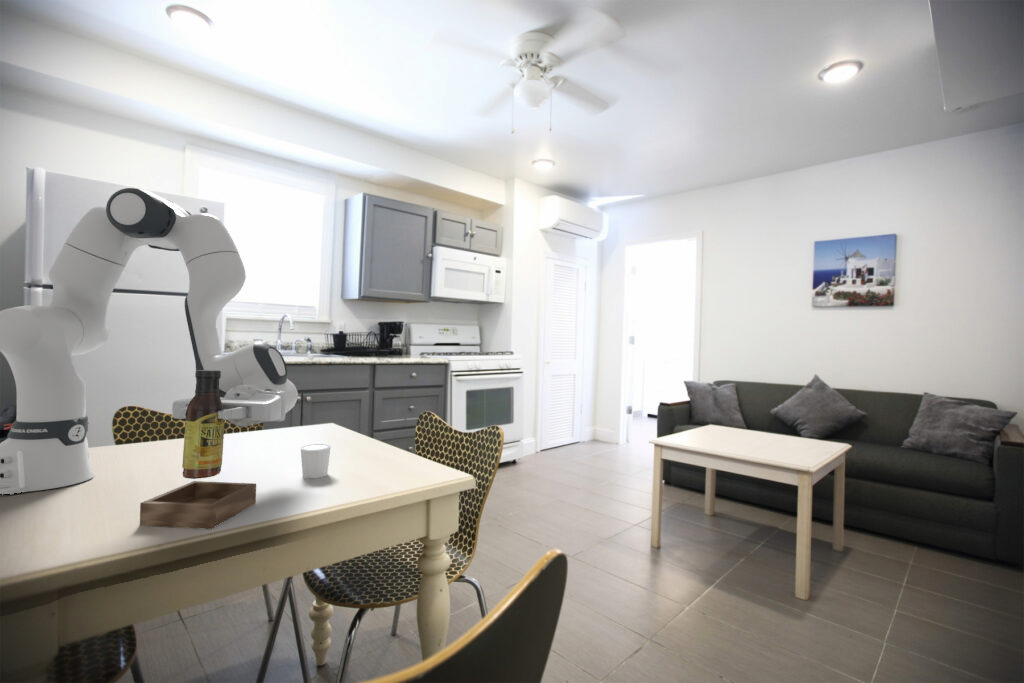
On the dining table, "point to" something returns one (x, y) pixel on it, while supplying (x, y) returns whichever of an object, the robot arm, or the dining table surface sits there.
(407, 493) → the dining table surface
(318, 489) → the dining table surface
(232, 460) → the dining table surface
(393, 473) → the dining table surface
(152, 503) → the brown wooden tray
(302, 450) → the white cup
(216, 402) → the sauce bottle
